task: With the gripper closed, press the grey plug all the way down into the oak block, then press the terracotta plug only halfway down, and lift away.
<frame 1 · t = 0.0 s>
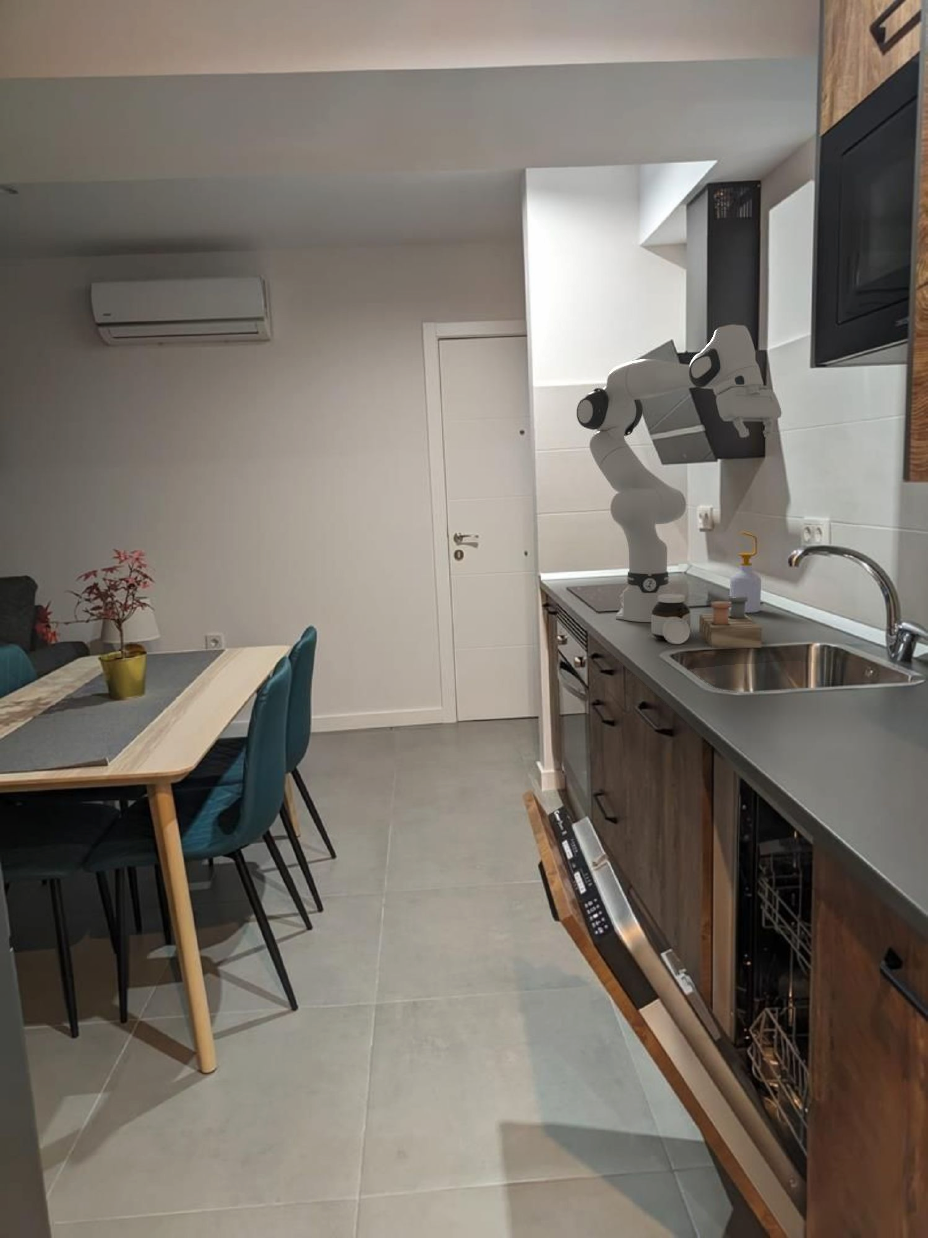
hand: (757, 436, 214), 52 cm above the countertop, tool tilted 20°, fingers open, 8 cm apart
soap bottle: (744, 611, 263), on the countertop
terracotta plug: (720, 616, 216), point 7 cm above the countertop, slide at 0.0 cm
spread jar: (673, 641, 222), on the countertop
grey plug: (737, 610, 224), point 7 cm above the countertop, slide at 0.0 cm
oak block: (728, 639, 221), on the countertop
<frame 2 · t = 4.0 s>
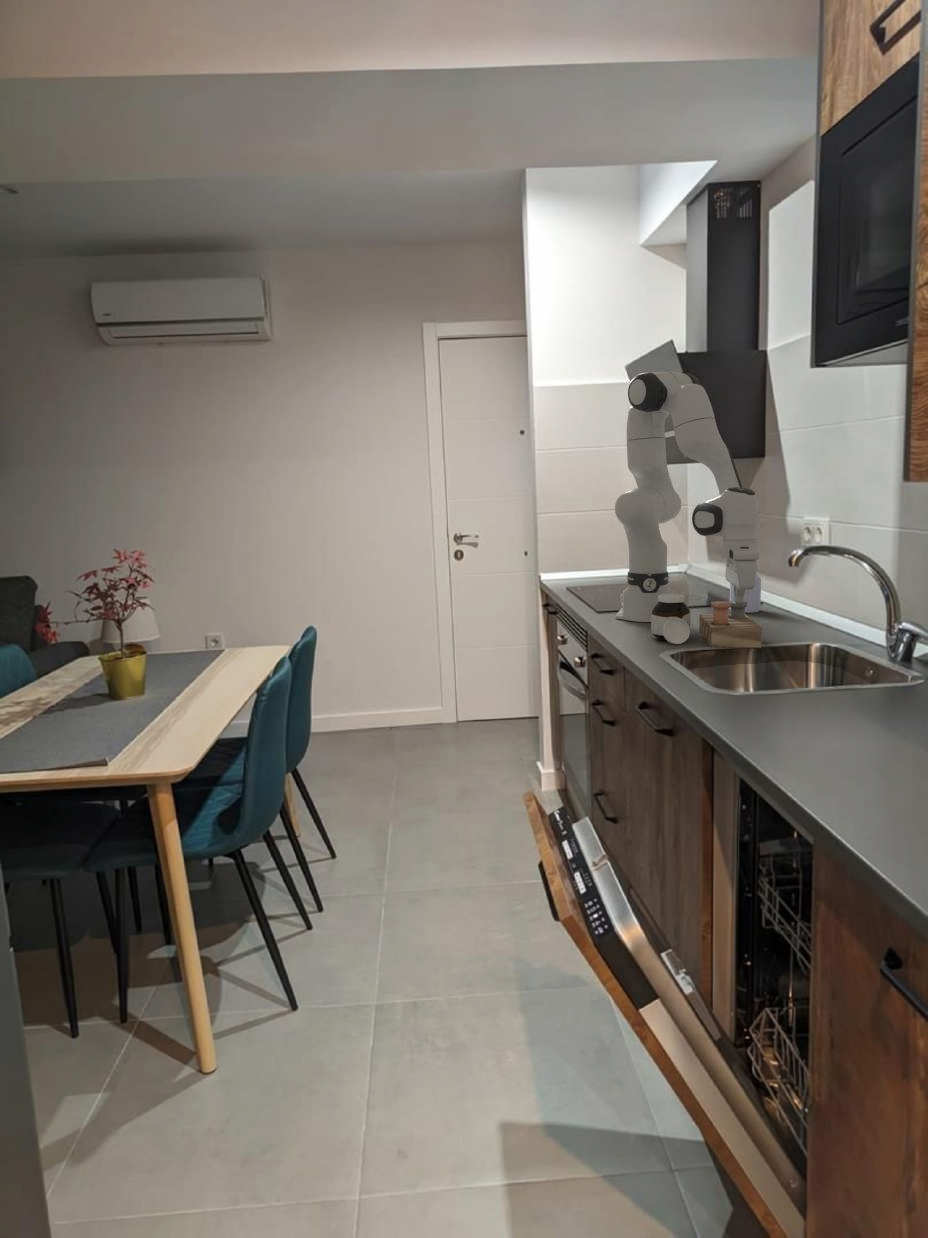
hand: (738, 602, 223), 9 cm above the countertop, tool pointing down, fingers closed
grey plug: (737, 615, 224), point 6 cm above the countertop, slide at 1.4 cm, touching gripper
everything else where it was.
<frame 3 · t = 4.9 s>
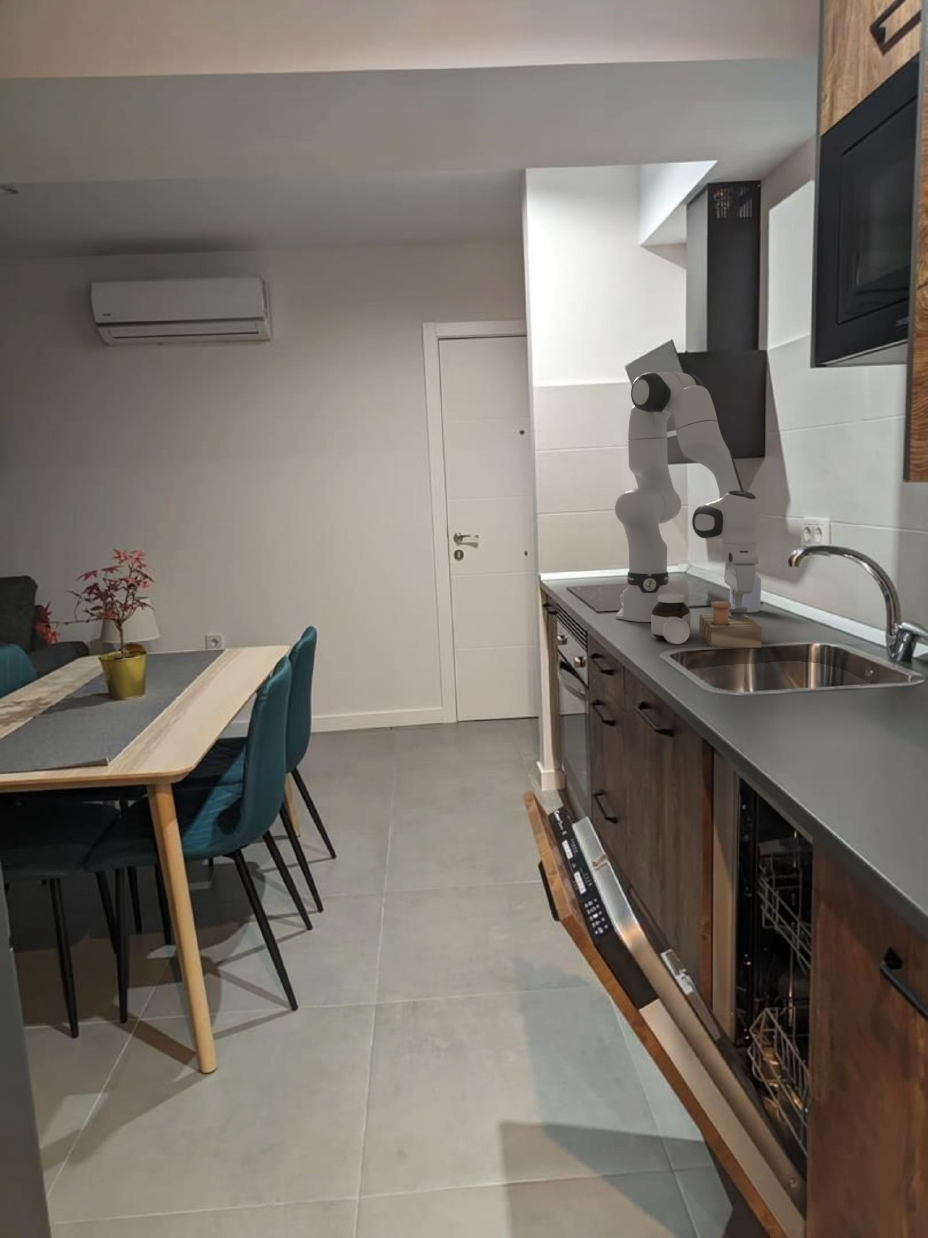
hand: (736, 605, 224), 8 cm above the countertop, tool pointing down, fingers closed
grey plug: (737, 620, 225), point 4 cm above the countertop, slide at 2.9 cm
everything else where it was.
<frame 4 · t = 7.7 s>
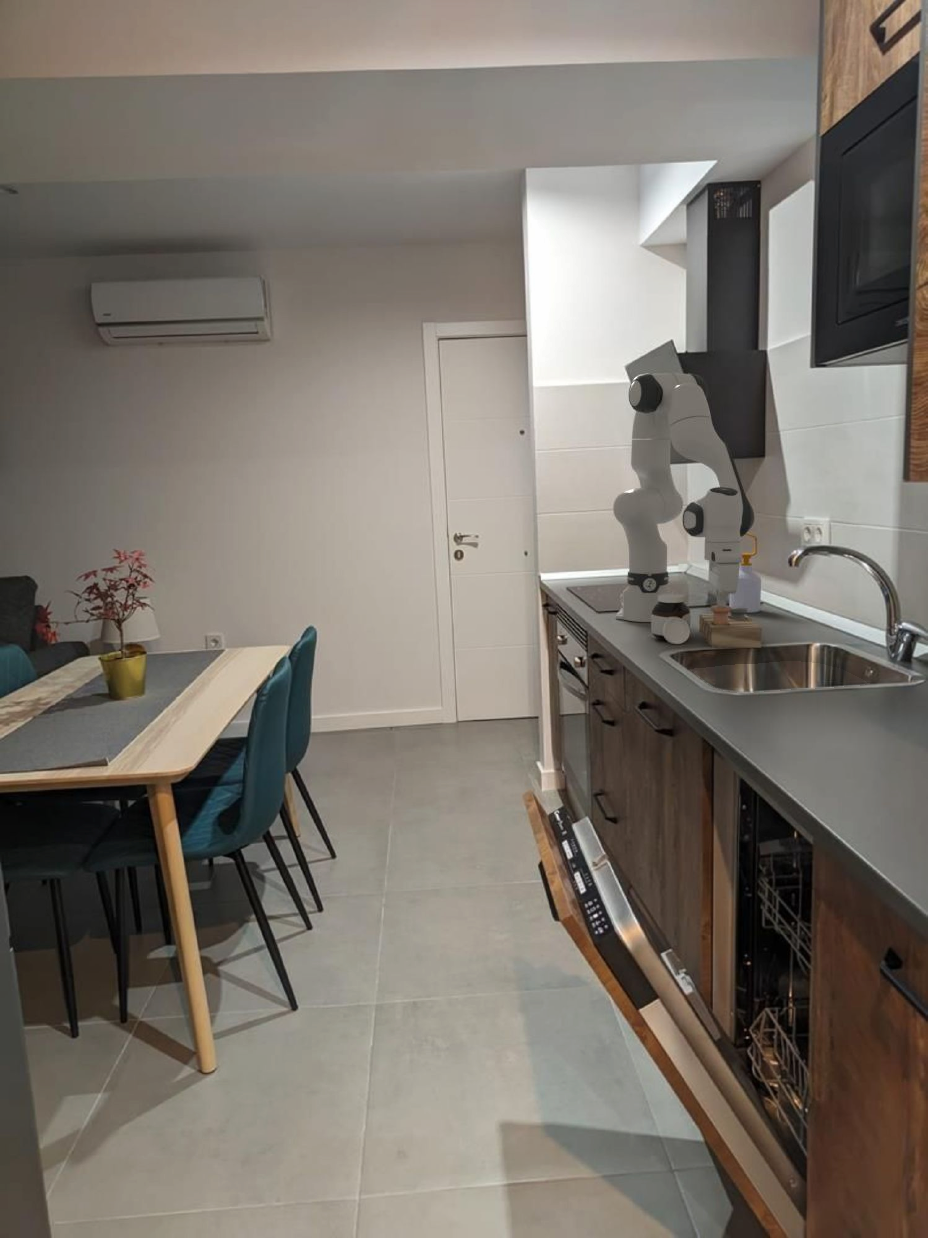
hand: (721, 606, 215), 10 cm above the countertop, tool pointing down, fingers closed, pressing on terracotta plug
terracotta plug: (720, 620, 216), point 6 cm above the countertop, slide at 1.0 cm, touching gripper
everything else where it was.
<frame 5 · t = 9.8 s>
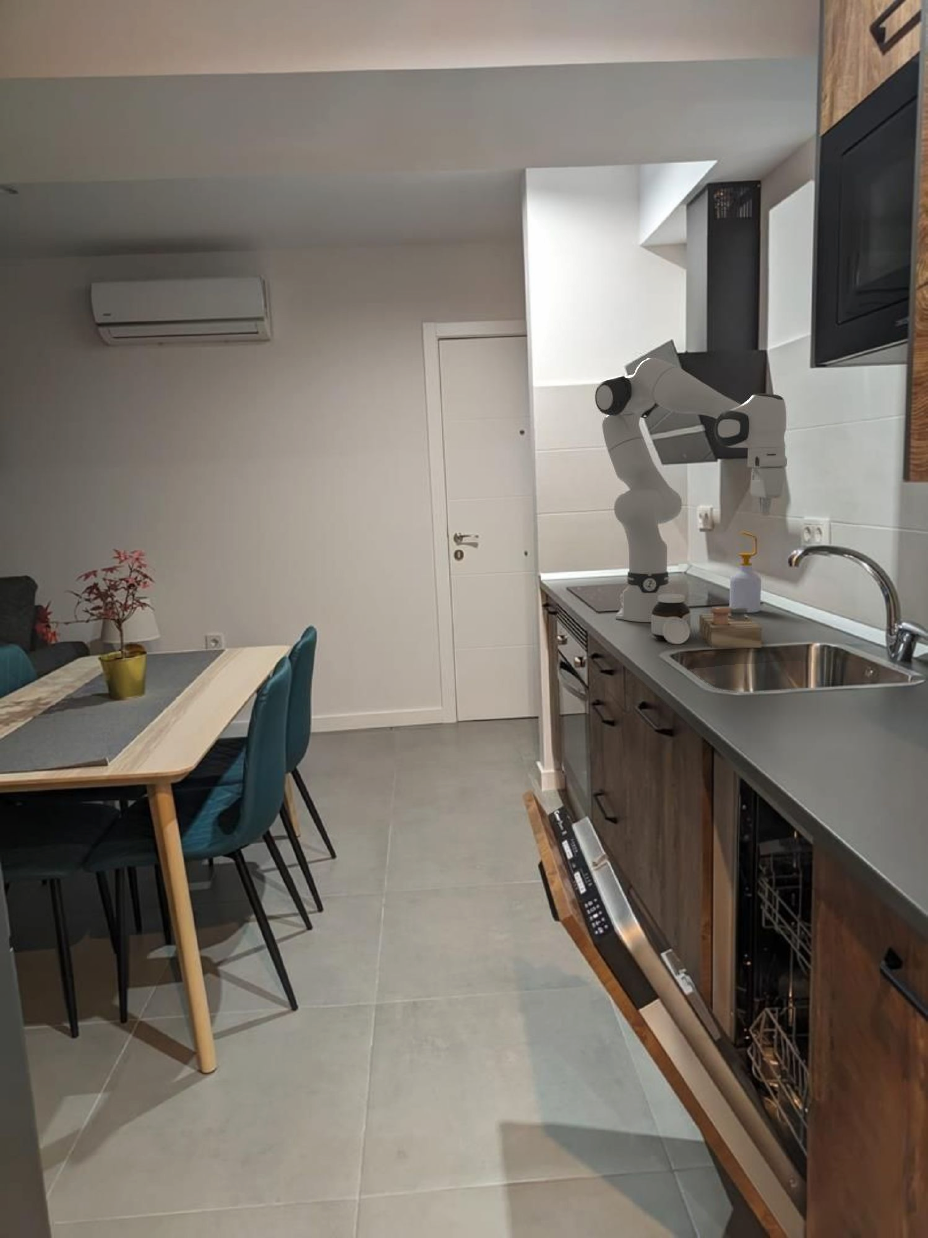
hand: (764, 515, 213), 32 cm above the countertop, tool pointing down, fingers closed
terracotta plug: (720, 621, 216), point 6 cm above the countertop, slide at 1.4 cm
everything else where it was.
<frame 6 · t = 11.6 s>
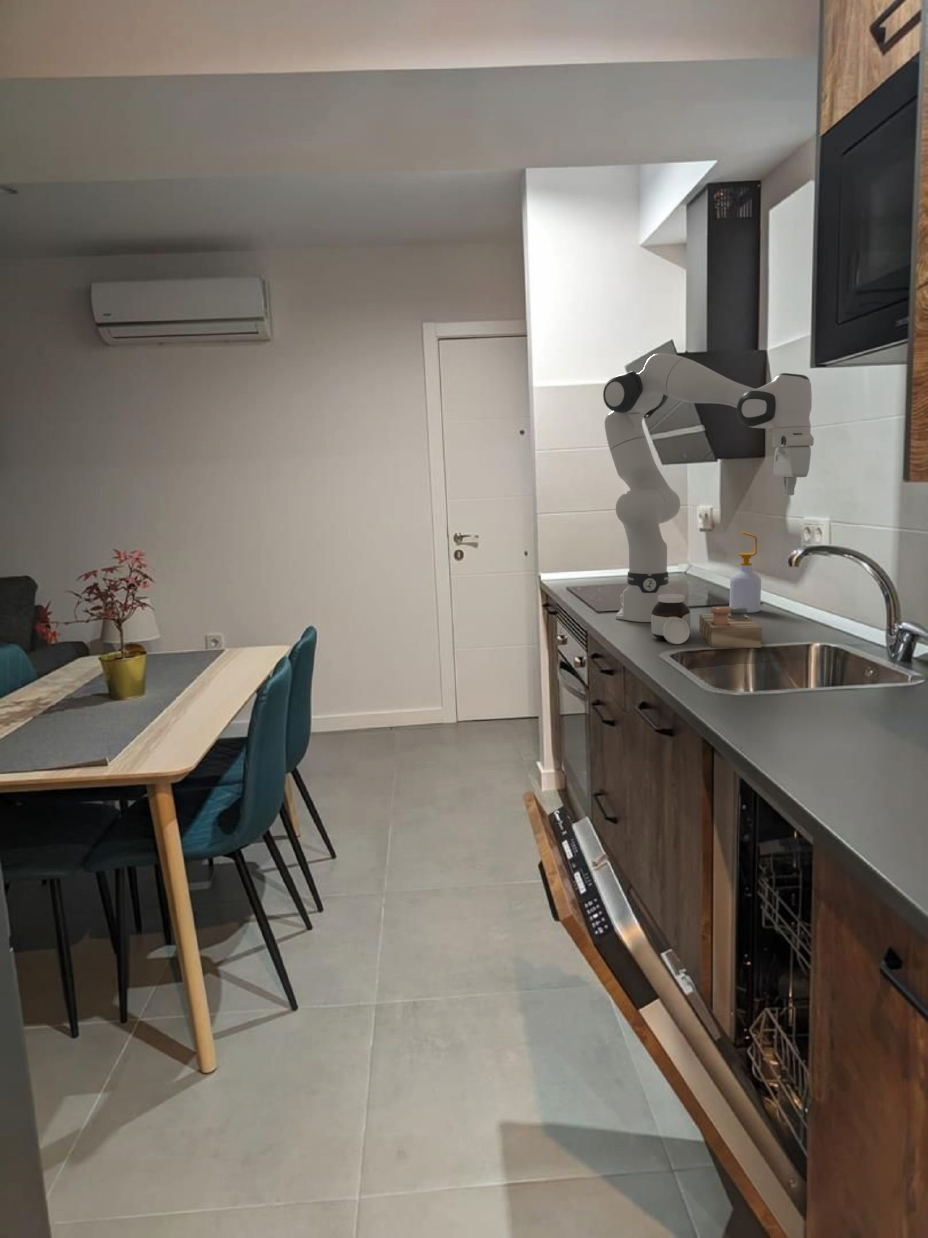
hand: (788, 495, 214), 37 cm above the countertop, tool pointing down, fingers closed
nothing on the countertop moved.
at the end: grey plug slide at 2.9 cm; terracotta plug slide at 1.4 cm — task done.
